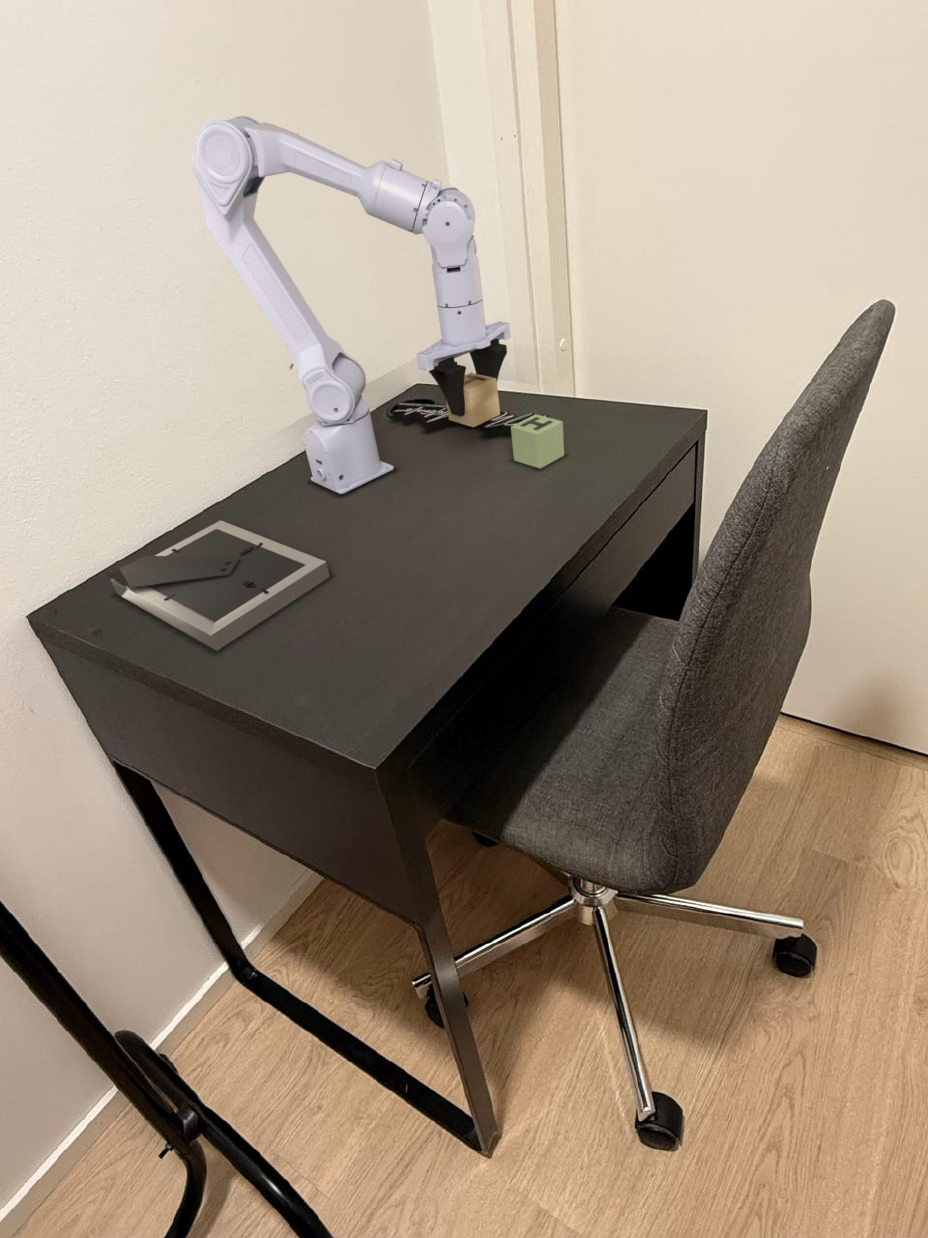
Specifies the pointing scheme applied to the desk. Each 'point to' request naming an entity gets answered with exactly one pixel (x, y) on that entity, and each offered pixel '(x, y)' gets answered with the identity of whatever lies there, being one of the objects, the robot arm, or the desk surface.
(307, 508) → the desk surface
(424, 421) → the nameplate
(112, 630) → the desk surface
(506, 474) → the desk surface
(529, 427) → the sage block
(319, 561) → the picture frame
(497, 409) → the cream block
